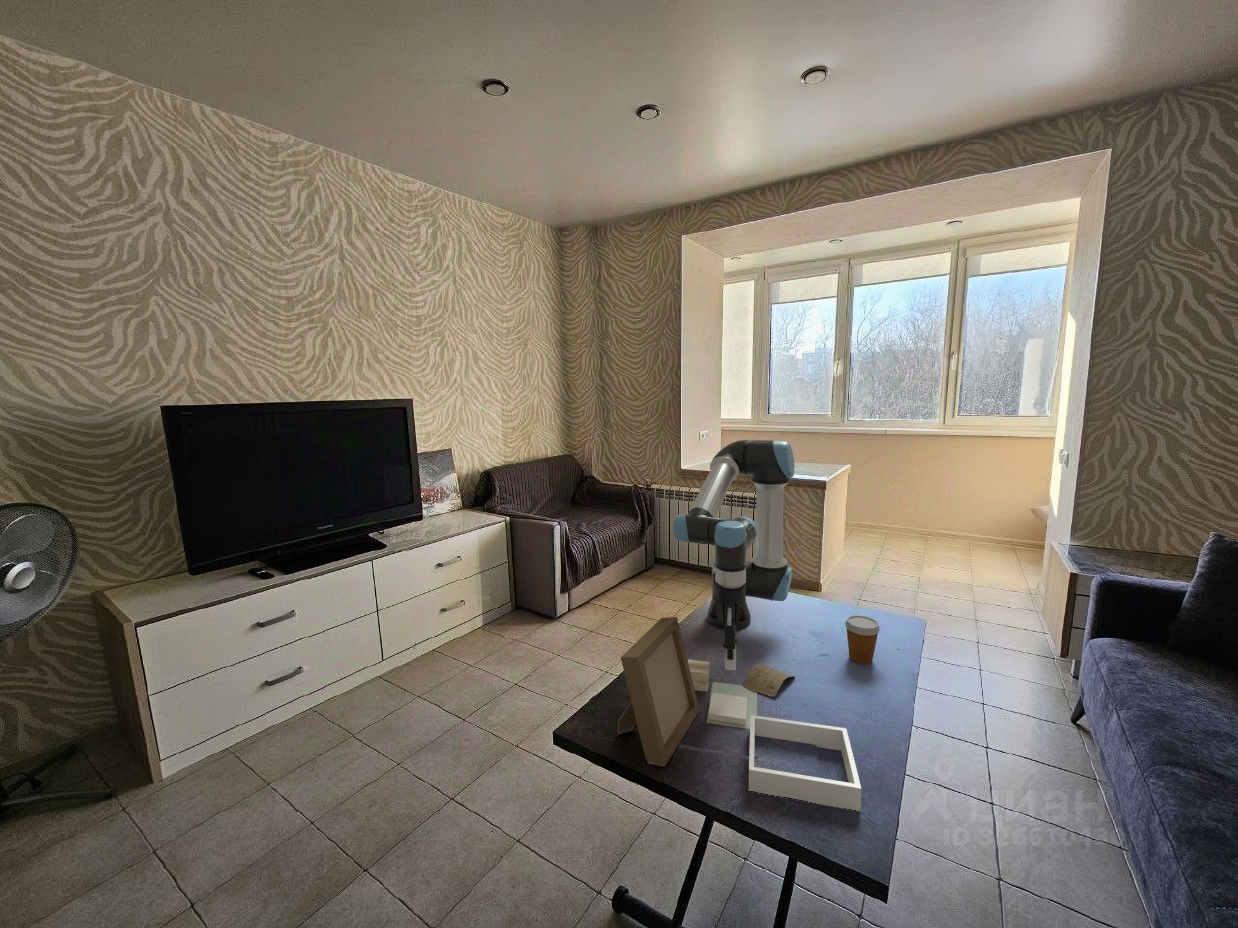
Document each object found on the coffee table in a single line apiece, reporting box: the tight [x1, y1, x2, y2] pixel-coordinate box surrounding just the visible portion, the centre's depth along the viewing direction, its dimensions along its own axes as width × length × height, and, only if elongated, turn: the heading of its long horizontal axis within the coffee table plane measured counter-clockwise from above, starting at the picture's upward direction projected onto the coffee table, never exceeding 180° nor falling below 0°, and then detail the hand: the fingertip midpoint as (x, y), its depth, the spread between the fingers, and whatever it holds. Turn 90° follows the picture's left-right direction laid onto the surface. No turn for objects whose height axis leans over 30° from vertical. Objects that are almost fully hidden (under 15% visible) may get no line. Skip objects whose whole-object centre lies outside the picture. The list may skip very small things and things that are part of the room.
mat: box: [705, 681, 758, 730], centre depth 132 cm, size 18×12×1 cm, turn 165°
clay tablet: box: [742, 663, 794, 697], centre depth 142 cm, size 14×10×3 cm
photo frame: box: [617, 616, 700, 768], centre depth 121 cm, size 15×22×25 cm
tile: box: [708, 693, 747, 725], centre depth 129 cm, size 2×9×9 cm
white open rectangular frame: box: [748, 715, 862, 812], centre depth 109 cm, size 18×21×5 cm
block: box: [687, 659, 711, 692], centre depth 141 cm, size 6×6×6 cm
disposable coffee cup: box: [844, 614, 881, 666], centre depth 152 cm, size 10×10×12 cm
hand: (730, 667), depth 132 cm, fingers closed
